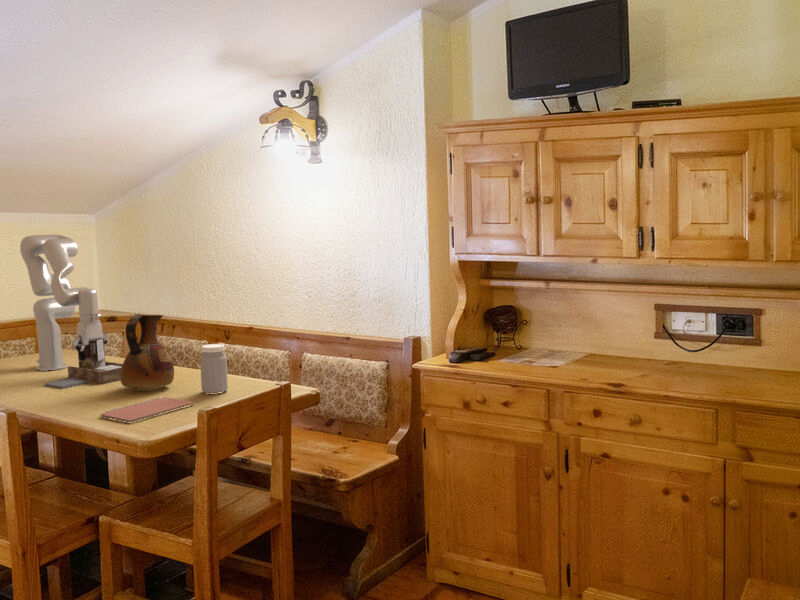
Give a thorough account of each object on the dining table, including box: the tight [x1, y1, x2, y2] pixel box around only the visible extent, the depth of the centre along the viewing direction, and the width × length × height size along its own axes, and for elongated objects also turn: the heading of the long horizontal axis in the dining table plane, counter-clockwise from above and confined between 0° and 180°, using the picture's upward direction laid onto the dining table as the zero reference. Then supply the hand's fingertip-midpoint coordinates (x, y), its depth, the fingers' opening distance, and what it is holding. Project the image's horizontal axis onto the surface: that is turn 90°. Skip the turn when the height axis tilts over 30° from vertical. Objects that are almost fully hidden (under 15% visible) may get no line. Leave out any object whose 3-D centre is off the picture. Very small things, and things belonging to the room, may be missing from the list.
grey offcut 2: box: [102, 366, 121, 371], centre depth 313 cm, size 4×8×5 cm, turn 151°
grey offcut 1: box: [95, 365, 115, 371], centre depth 315 cm, size 4×8×5 cm, turn 145°
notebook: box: [99, 396, 195, 422], centre depth 261 cm, size 27×17×2 cm, turn 147°
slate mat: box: [44, 377, 90, 389], centre depth 305 cm, size 12×12×1 cm
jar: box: [199, 343, 229, 394], centre depth 287 cm, size 10×10×18 cm
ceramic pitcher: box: [120, 313, 175, 392], centre depth 293 cm, size 20×20×30 cm
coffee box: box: [77, 337, 106, 370], centre depth 319 cm, size 9×6×16 cm
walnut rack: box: [67, 360, 123, 385], centre depth 317 cm, size 23×15×5 cm, turn 58°
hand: (91, 358), depth 319 cm, fingers open, 9 cm apart
